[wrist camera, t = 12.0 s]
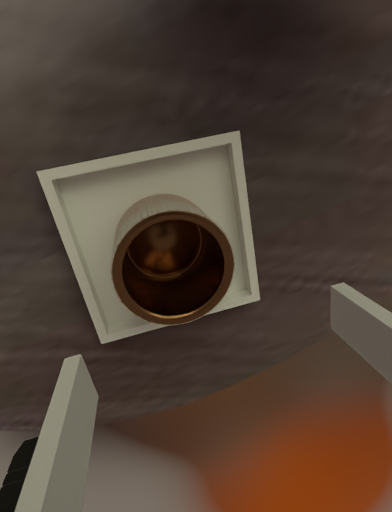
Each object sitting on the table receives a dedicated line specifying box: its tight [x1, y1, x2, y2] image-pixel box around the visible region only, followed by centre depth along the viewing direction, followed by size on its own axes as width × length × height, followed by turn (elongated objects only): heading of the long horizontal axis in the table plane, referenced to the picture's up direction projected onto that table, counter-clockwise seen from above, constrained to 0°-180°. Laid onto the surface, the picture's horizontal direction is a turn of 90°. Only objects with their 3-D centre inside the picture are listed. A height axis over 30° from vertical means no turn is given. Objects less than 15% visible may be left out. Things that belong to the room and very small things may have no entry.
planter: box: [110, 194, 235, 325], centre depth 29 cm, size 11×11×10 cm
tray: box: [37, 130, 260, 344], centre depth 33 cm, size 20×20×2 cm
